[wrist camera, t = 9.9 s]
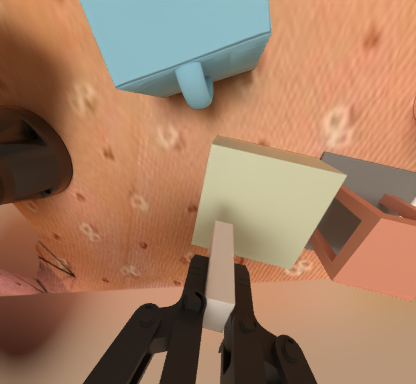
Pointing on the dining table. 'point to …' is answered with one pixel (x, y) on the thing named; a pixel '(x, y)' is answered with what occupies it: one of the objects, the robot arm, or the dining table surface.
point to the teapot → (178, 43)
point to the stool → (374, 248)
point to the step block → (264, 199)
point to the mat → (361, 195)
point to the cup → (415, 109)
